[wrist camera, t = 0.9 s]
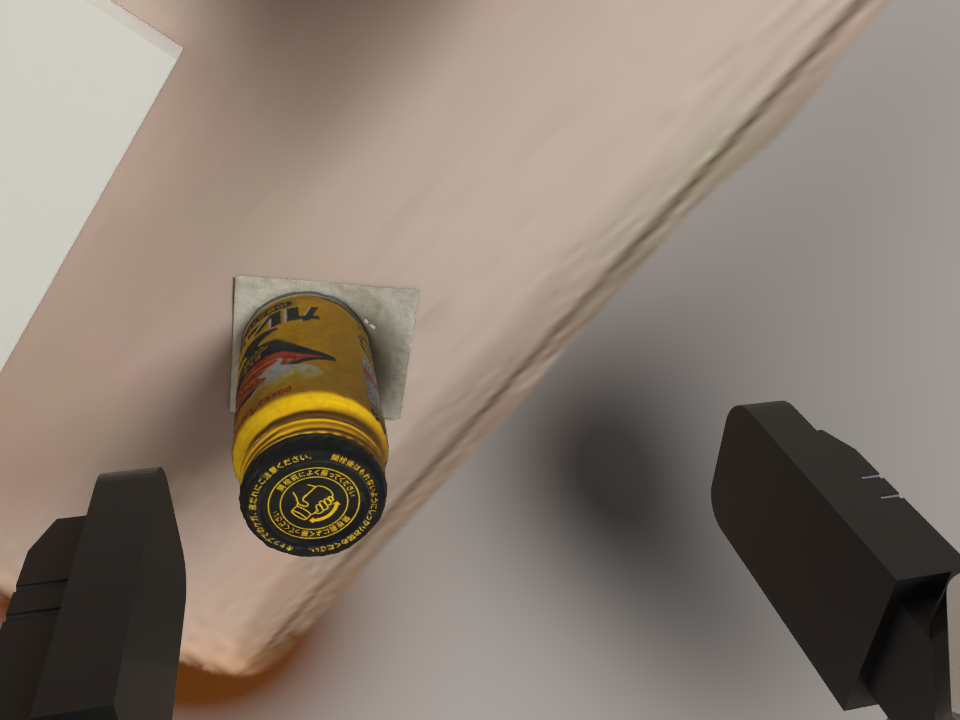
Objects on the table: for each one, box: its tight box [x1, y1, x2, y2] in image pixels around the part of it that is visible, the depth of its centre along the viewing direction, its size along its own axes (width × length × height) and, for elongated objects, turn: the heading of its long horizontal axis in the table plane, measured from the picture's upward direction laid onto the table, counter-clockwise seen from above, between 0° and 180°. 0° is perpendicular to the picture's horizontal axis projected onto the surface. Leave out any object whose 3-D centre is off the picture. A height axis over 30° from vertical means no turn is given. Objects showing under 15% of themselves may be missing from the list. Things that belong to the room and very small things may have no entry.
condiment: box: [230, 276, 420, 557], centre depth 34 cm, size 7×8×12 cm
